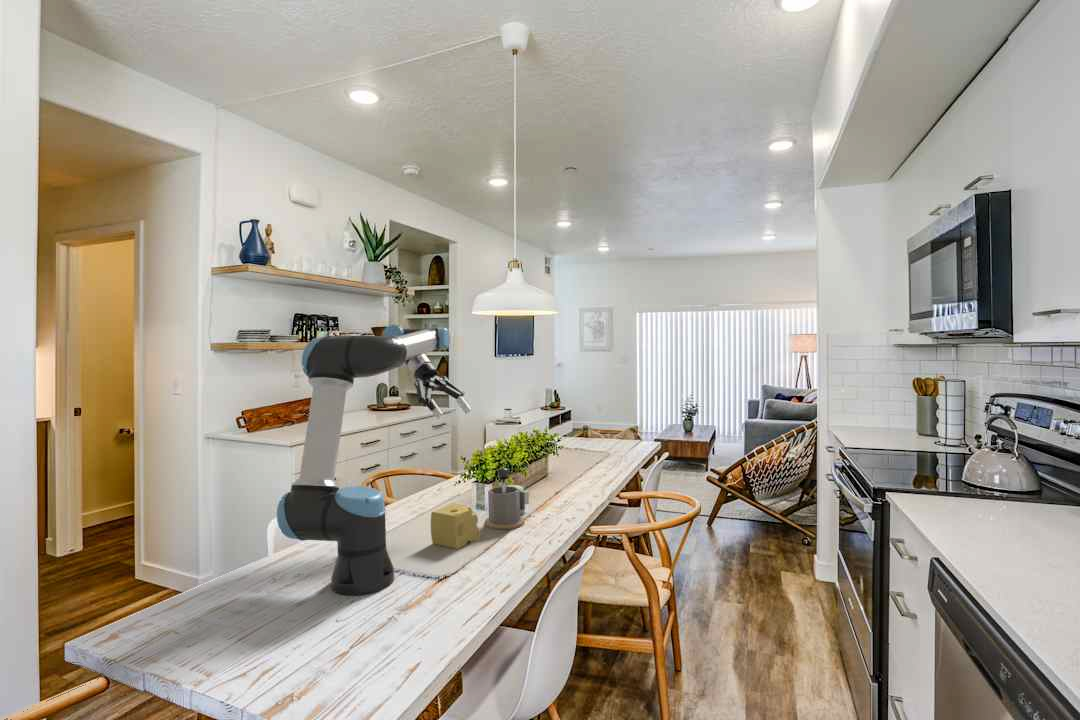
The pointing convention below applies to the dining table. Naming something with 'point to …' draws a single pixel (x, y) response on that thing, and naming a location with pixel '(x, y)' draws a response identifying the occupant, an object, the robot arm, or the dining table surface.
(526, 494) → the pale green dome knob
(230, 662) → the dining table surface
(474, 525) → the cheese
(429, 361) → the robot arm
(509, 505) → the grey octagonal cup
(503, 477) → the plunger
